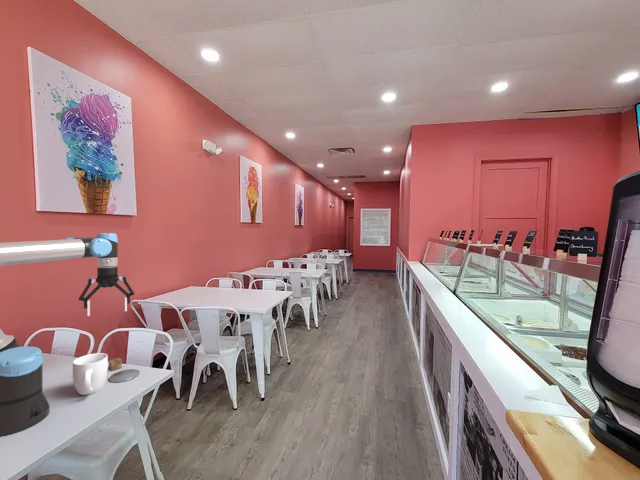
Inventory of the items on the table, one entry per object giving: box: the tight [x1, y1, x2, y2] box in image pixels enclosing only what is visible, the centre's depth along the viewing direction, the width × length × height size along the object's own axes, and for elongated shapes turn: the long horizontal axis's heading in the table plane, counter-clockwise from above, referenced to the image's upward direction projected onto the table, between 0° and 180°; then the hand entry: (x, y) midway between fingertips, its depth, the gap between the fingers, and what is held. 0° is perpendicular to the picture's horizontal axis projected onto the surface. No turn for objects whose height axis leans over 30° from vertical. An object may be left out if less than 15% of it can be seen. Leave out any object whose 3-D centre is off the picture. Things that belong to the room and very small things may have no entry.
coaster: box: [108, 368, 140, 384], centre depth 125 cm, size 11×11×1 cm
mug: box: [72, 352, 109, 396], centre depth 112 cm, size 15×11×13 cm
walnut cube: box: [108, 357, 123, 372], centre depth 133 cm, size 4×4×4 cm
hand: (107, 313), depth 130 cm, fingers open, 13 cm apart
